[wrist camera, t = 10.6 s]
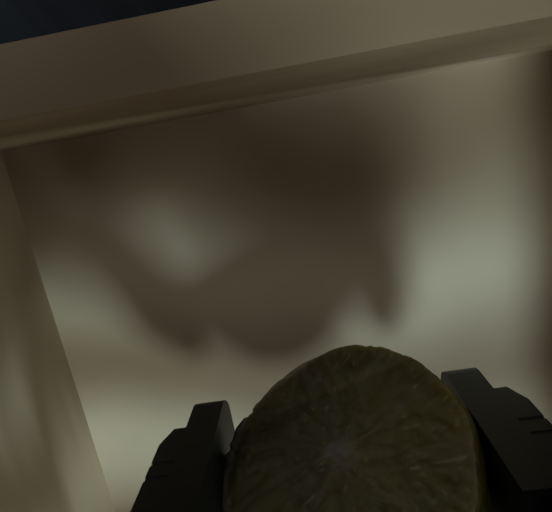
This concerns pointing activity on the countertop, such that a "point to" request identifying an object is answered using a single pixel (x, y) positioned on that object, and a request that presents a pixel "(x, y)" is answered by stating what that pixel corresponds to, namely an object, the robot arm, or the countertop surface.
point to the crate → (260, 217)
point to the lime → (357, 441)
